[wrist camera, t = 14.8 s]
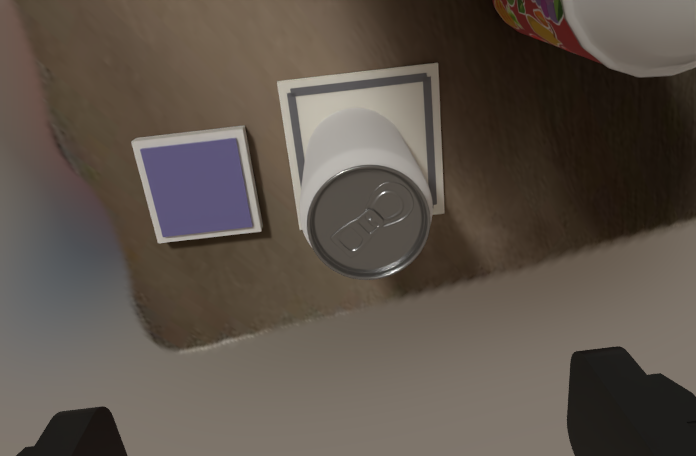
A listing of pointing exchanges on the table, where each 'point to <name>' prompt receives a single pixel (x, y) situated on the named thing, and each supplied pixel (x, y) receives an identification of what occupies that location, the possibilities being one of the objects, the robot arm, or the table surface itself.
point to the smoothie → (613, 31)
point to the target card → (377, 95)
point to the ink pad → (199, 184)
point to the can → (363, 196)
